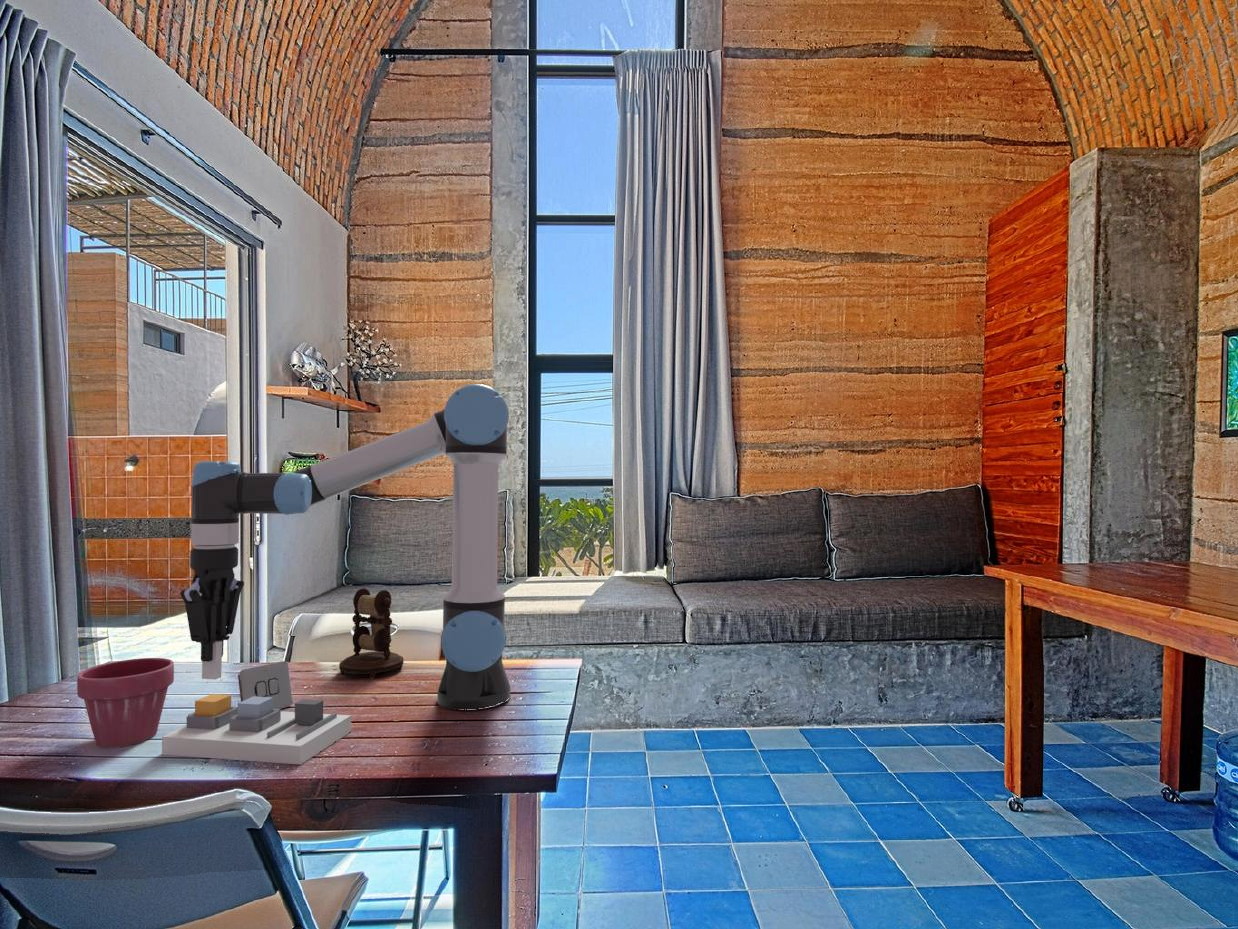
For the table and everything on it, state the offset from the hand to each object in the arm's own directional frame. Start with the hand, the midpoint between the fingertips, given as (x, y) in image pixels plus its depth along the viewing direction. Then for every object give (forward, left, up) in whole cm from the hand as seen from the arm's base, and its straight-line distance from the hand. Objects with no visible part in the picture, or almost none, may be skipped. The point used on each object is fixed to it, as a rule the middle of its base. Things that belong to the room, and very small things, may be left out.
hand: (211, 677), depth 125 cm
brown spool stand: (-5, -46, -11) cm, 48 cm away
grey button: (-9, 0, -6) cm, 11 cm away
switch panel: (-10, 0, -11) cm, 15 cm away
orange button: (0, 0, -6) cm, 6 cm away
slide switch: (-18, -2, -8) cm, 20 cm away
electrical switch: (+2, -16, -11) cm, 20 cm away
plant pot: (+16, +2, -11) cm, 19 cm away
